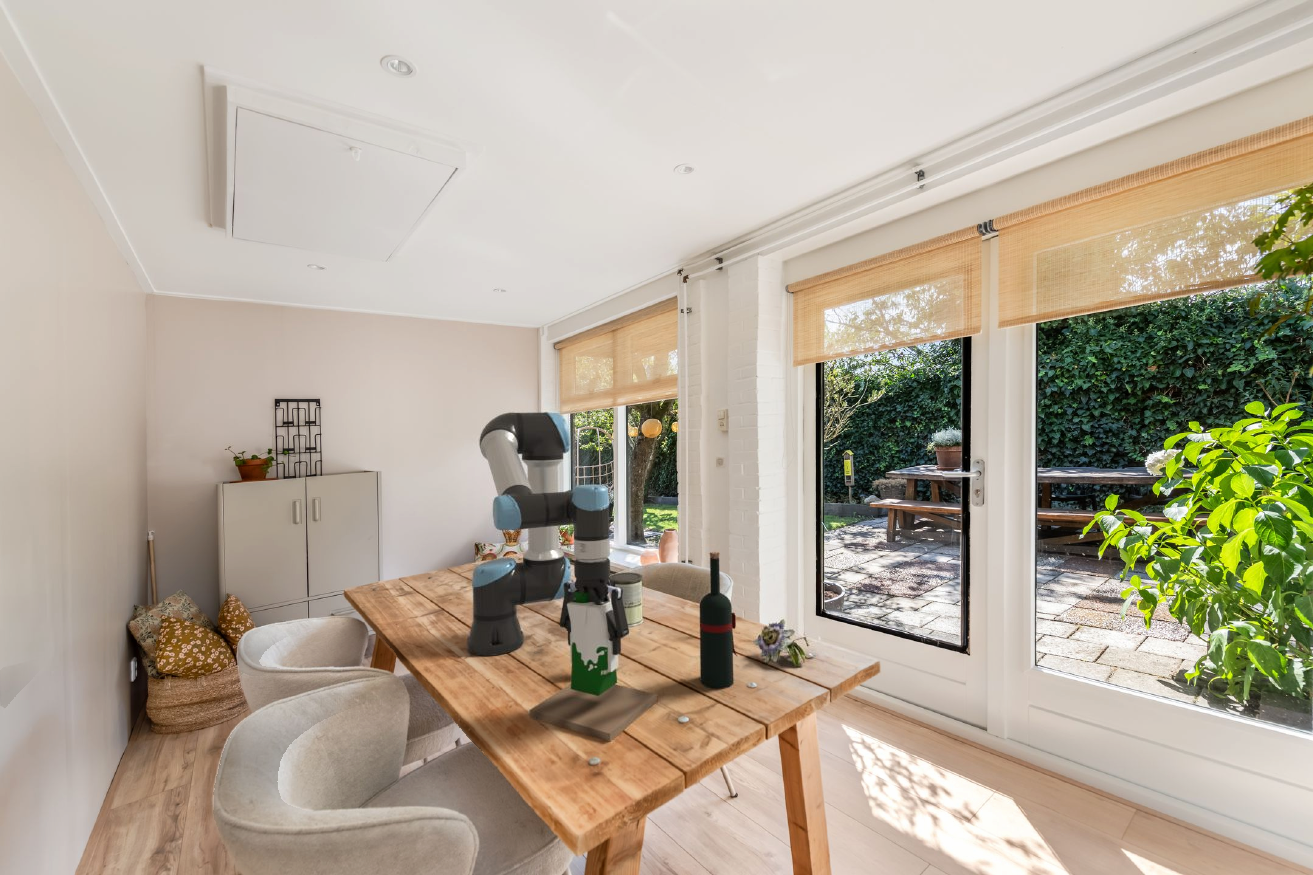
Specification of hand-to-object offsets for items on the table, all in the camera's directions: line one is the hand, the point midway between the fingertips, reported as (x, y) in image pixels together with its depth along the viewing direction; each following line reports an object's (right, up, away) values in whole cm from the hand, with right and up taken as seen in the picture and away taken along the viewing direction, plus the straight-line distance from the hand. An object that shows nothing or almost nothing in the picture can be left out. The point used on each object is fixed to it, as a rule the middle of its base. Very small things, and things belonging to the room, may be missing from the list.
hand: (594, 664), depth 119 cm
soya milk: (0, -5, 0) cm, 5 cm away
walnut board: (0, -9, 0) cm, 9 cm away
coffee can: (+4, -9, +55) cm, 56 cm away
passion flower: (+45, -9, +24) cm, 52 cm away
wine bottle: (+28, -9, +13) cm, 32 cm away
